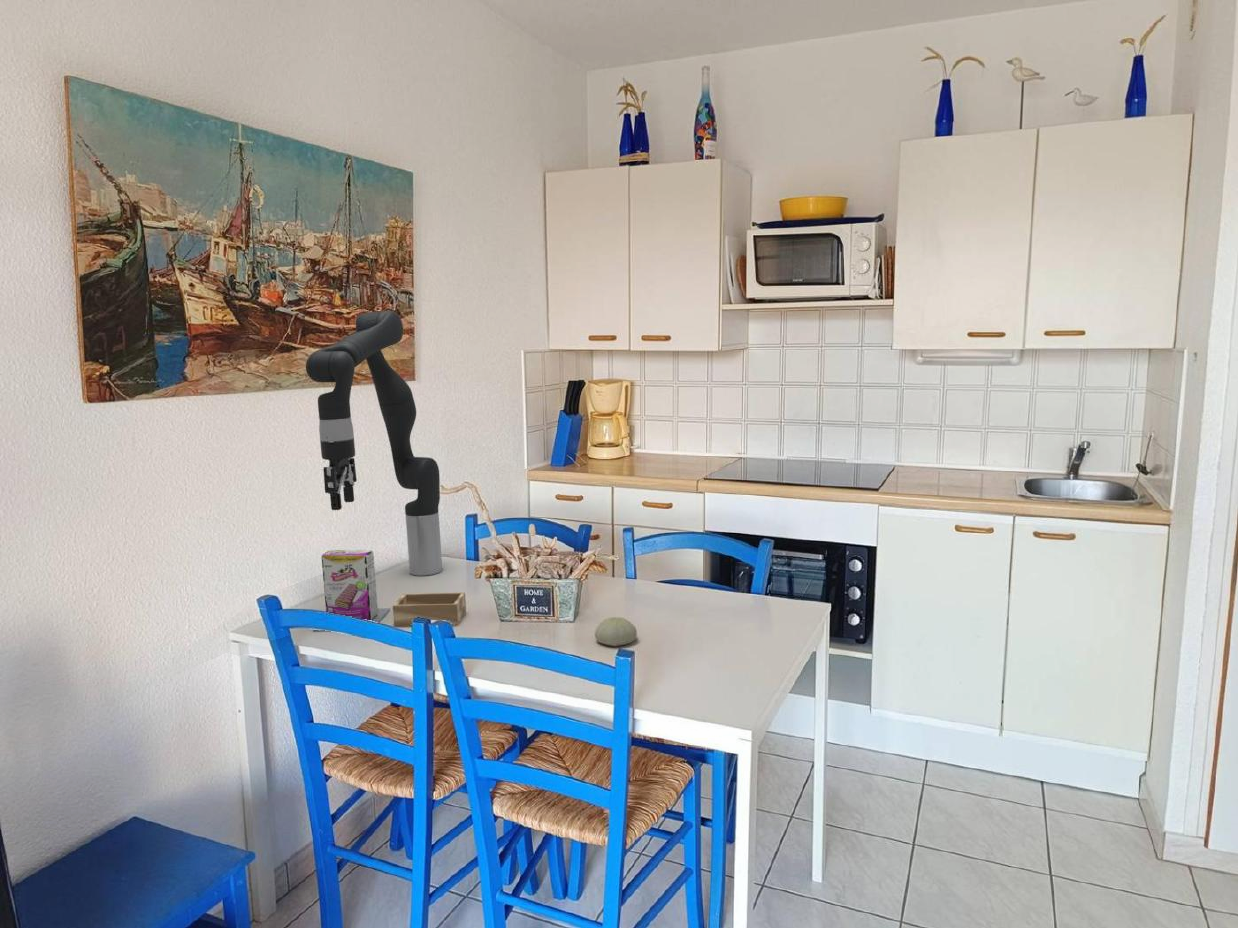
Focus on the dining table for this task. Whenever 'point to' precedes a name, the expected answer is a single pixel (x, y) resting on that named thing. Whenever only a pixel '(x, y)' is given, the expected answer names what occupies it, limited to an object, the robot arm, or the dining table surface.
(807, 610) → the dining table surface
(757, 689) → the dining table surface
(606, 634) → the sea urchin shell
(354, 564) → the candy bar box
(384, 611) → the coaster
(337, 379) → the robot arm
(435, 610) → the caddy
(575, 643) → the dining table surface
